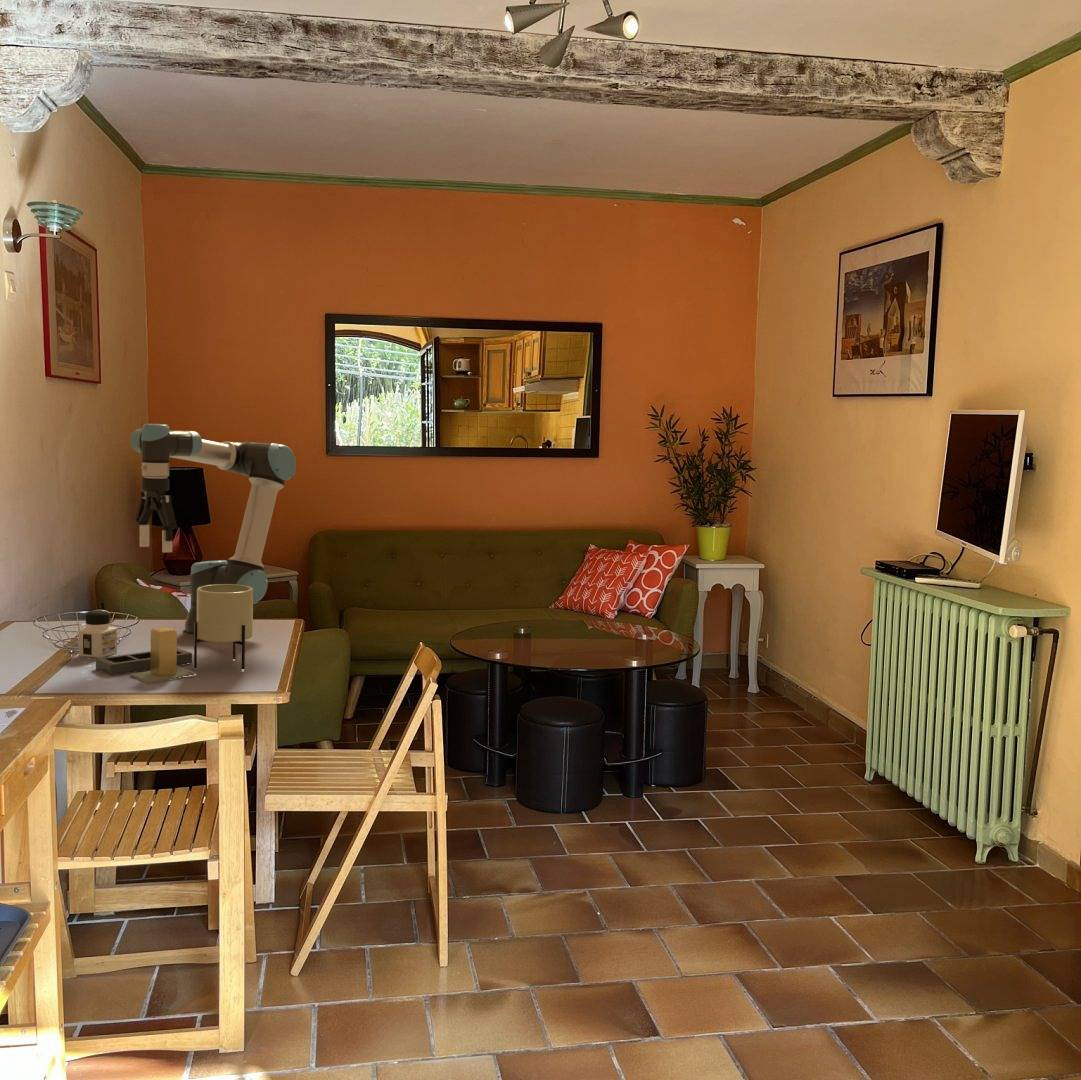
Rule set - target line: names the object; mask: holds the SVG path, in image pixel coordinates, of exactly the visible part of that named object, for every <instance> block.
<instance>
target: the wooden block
mask: <svg viewBox="0 0 1081 1080" xmlns="http://www.w3.org/2000/svg"><path fill="white" fill-rule="evenodd" d="M177 637H178V631H177V630H176V629H174V628H171V627H168V626H166V627H158V628H152V629H151V630H150V651H151V670H150V671H151V674H154V675H156V676H158V677H162V676H168V675H175V674H177V667H178V666H177V648H178V640H177V639H178V638H177Z"/></svg>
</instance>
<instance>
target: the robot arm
mask: <svg viewBox="0 0 1081 1080" xmlns="http://www.w3.org/2000/svg"><path fill="white" fill-rule="evenodd" d="M130 446H131V448H132V449H133V450H134V451H135V452H137V453H140V454H141V466H140V469H141V476H143V477H142V478H141V490H142V491H140V495H139V496H140V497H139V498H140V499H139V502H138V506H137V511H136V514H135V518H134V521H135V522H136V523H138V525H139V547H140V548H146V547H147V548H149V547H150V519H151V517H152V515H153V512H154V511H155V512H157V514H158V517H159V519H160V522H161V525H162V528H161V541H162V542H161V544H162V545H161V546H162V547H161V551H162V552H161V553H173V531H174V529H177V528H178V525H177V520H176V518H175V517H176V516H175V511H174V509H173V508H174V507H173V504H172V496H171V495H170V494H168V495H166V494H165V492H167V491H168V492H169V490H170V479H169V477H170V458H173V459H178V460H185V461H189V462H196V463H201V464H205V465H211V466H216V467H217V468H218V469H220V470H222V471H227V472H231V473H234V474H239V475H242V476H244V477H248V481H249V482H250V485H251V487H250V491H249V496H248V500H247V503H246V507H245V511H244V515H243V519H242V524H241V527H240V532H239V536H238V539H237V543H236V548H235V551H234V555H233V556H231V557H230V558H228V560H225V559H221V560H206V561H200V562H194V563H193V564H192V565H191V566H190V574H189V577H190V578H189V579H190V583H189V585H190V607H189V610H188V613H187V616H186V619H185V622H184V631H185V632H187V633H190V634H194V622H197V588H199V587H201V586H206V585H215V584H236V585H245V586H249V587H252V588H253V605H255V604H257V603H258V602H259V601H262V599H263V598H264V596H265V595H266V593H267V589H268V585H269V581H268V577H267V574H266V573H265V572H264V570H265V566H264V564H263V562H262V559H263V553H264V550H265V545H266V541H267V538H268V537H267V536H268V533H269V529H270V526H271V521H272V517H273V513H274V508H275V504H276V500H277V496H278V493H279V491H281V490H282V489H284V488H285V484H286V481H289V480H291V479H292V478H293V477H294V476H295V473H296V470H297V459H296V456H295V455H294V452H293V451H292V449H291V448H290V447H289V446H288V445H285V444H280V443H277V442H275V443H270V442H269V443H268V442H267V443H266V442H255V441H254V442H253V441H249V442H248V441H245V442H244V441H243V442H239V441H237V442H236V441H233V442H232V441H228V440H225V441H221V442H217V441H214V440H207V439H202V437H201V435H200V434H199V432H197V431H194V430H175V429H174V430H173V429H172V430H171V429H170V427H169V424H166V423H165V424H163V423H162V424H161V423H145V424H143V425H142V426H141V428H137V429H135V430H134V431H133V432H132V434H131V437H130Z"/></svg>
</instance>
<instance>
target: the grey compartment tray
mask: <svg viewBox="0 0 1081 1080" xmlns="http://www.w3.org/2000/svg"><path fill="white" fill-rule="evenodd" d="M187 663H191V664H193V653H192V652H189V651H188V650H184V649H182V648H179V647H177V665H178V666H183V665H182V664H185V665H188V664H187ZM95 670H97V671H99V672H101V673H104V674H106V675H109V676H110V677H111V676H115V675H116V676H118V675H122V674H124V675H125V674H132V673H139V672H145V671H151V650H149V651H141V652H132V653H128V654H127V653H126V654H120V655H119V654H118V655H113V656H112V655H110V656H106V657H103V658H96V657H95Z"/></svg>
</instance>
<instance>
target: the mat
mask: <svg viewBox="0 0 1081 1080" xmlns="http://www.w3.org/2000/svg"><path fill="white" fill-rule="evenodd" d="M194 674H196V675H197V673H196V672H193V671H191V670H188V669H185V668H183V667H181V666H177V674H175V675H168V676H162V677H158V676H156V675H154V674H151V670H145V671H139V672H132V673H130V677H132V678H135V679H137V680H139V681H141V682H143V683H146V684H153V683H160V682H166V681H171V680H170V679H173V680H175V679H174V678H179V677H183V676H189V675H194ZM179 679H180V678H179Z"/></svg>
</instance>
